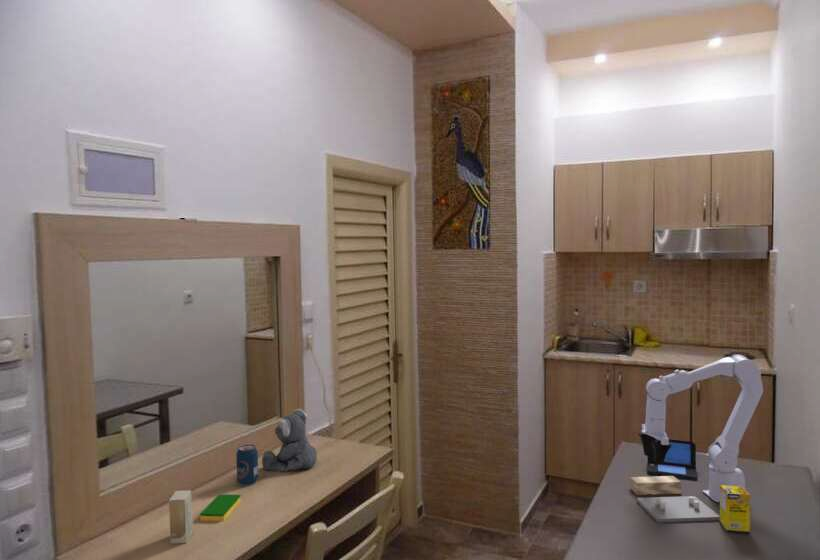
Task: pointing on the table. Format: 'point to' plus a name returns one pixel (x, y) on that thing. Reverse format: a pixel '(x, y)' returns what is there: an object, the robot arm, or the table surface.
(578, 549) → the table surface
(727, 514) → the supplement box
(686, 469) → the handheld game console
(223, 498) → the dish sponge
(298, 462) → the koala plush
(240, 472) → the soda can
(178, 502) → the skincare box
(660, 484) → the shelf board
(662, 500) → the peg stand
